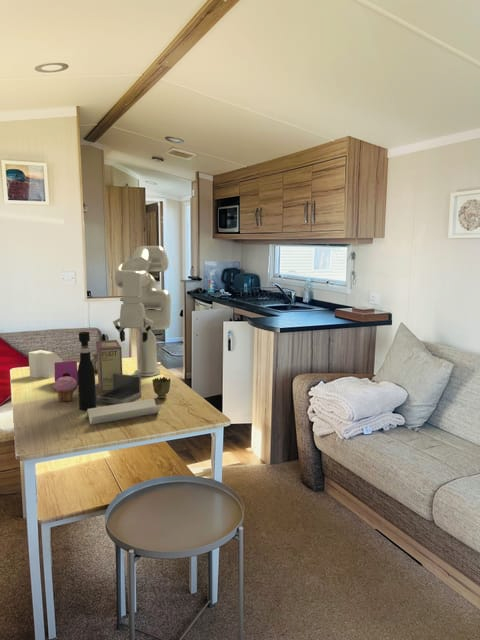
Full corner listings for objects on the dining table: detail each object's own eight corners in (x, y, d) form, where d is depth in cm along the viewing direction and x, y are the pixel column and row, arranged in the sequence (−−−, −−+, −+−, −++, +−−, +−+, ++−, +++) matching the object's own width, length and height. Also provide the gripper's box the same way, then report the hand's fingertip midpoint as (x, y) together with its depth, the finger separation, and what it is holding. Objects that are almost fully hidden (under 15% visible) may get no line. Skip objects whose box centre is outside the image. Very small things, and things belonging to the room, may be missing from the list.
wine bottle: (80, 412, 184) (76, 334, 179) (78, 407, 189) (73, 332, 185) (98, 409, 187) (94, 333, 182) (94, 404, 192) (91, 330, 188)
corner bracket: (30, 376, 235) (28, 352, 233) (50, 371, 244) (49, 348, 242) (43, 379, 229) (41, 355, 227) (63, 374, 238) (62, 350, 236)
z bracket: (88, 432, 175) (85, 416, 179) (154, 420, 187) (150, 406, 190) (92, 416, 167) (89, 401, 170) (161, 405, 178) (157, 390, 182)
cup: (174, 397, 201) (174, 379, 200) (160, 401, 196) (159, 382, 194) (163, 394, 206) (162, 375, 205) (149, 398, 201) (148, 379, 199)
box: (98, 384, 221) (96, 341, 218) (118, 382, 224) (116, 339, 221) (101, 394, 206) (99, 348, 203) (123, 392, 209) (121, 346, 206)
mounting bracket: (79, 402, 215) (77, 375, 229) (78, 387, 210) (76, 360, 225) (56, 404, 212) (55, 377, 226) (54, 389, 207) (54, 362, 221)
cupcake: (52, 404, 193) (51, 379, 192) (57, 397, 202) (56, 374, 200) (75, 403, 194) (74, 378, 193) (79, 396, 203) (78, 373, 201)
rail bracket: (115, 393, 206) (114, 373, 205) (141, 397, 202) (140, 376, 200) (95, 402, 194) (94, 381, 193) (122, 406, 190) (121, 384, 188)
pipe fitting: (111, 371, 242) (108, 351, 241) (95, 374, 238) (92, 354, 237) (104, 368, 252) (101, 349, 251) (89, 372, 248) (86, 352, 247)
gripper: (109, 301, 198) (110, 342, 200) (149, 301, 196) (150, 343, 198) (116, 299, 205) (117, 339, 207) (155, 300, 203) (156, 340, 205)
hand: (133, 341), depth 203 cm, fingers open, 9 cm apart
